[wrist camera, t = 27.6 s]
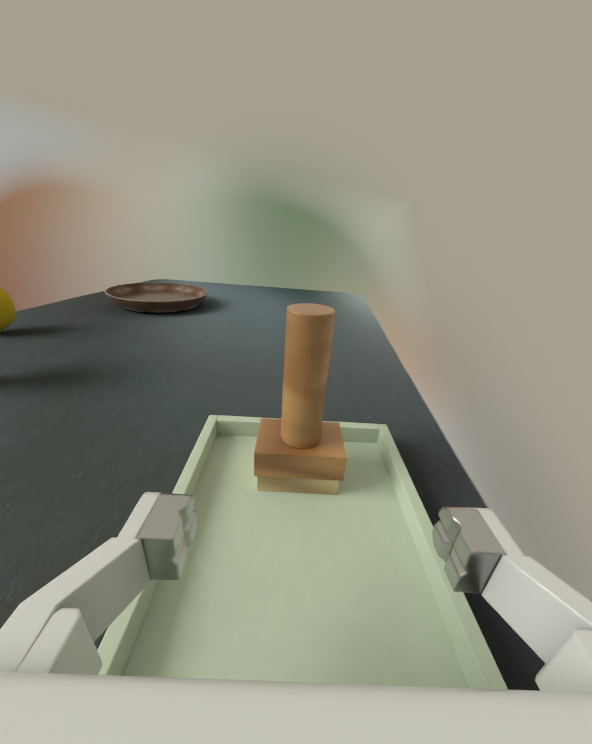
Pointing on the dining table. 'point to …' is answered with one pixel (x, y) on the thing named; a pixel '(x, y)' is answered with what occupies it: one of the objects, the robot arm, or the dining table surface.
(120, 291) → the plant saucer
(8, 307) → the lemon
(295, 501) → the tray
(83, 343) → the dining table surface
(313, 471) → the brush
